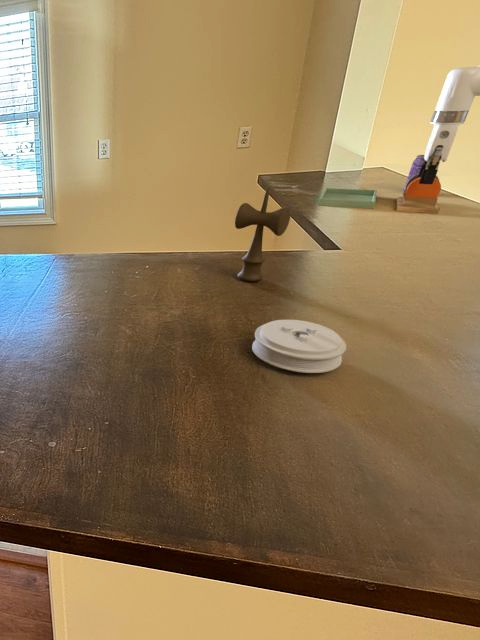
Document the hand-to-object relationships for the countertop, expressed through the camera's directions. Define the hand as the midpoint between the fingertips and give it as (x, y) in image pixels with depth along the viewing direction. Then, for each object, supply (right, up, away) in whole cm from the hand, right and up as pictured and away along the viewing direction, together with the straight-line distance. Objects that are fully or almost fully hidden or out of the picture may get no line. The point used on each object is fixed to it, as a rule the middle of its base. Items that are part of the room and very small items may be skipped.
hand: (424, 181), depth 144 cm
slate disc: (+5, +1, +6) cm, 8 cm away
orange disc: (+1, -2, +1) cm, 3 cm away
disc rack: (+3, -6, +7) cm, 9 cm away
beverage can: (+16, +4, +22) cm, 27 cm away
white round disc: (-81, -54, -66) cm, 118 cm away
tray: (-10, 0, +19) cm, 21 cm away
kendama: (-72, -36, -36) cm, 88 cm away
